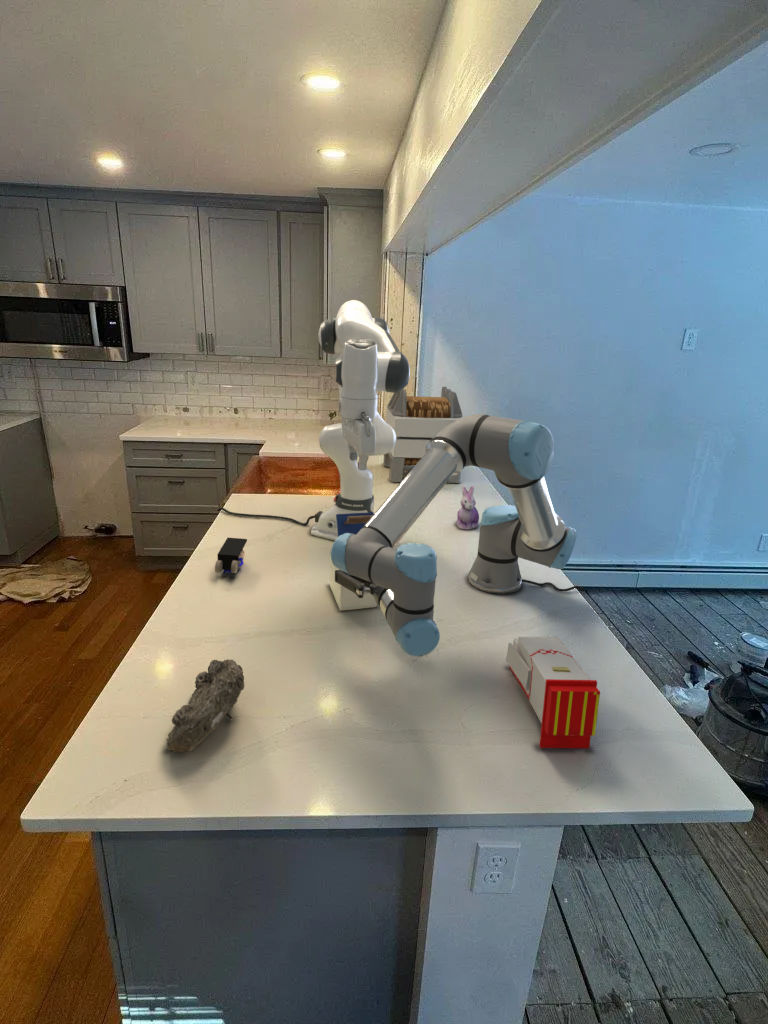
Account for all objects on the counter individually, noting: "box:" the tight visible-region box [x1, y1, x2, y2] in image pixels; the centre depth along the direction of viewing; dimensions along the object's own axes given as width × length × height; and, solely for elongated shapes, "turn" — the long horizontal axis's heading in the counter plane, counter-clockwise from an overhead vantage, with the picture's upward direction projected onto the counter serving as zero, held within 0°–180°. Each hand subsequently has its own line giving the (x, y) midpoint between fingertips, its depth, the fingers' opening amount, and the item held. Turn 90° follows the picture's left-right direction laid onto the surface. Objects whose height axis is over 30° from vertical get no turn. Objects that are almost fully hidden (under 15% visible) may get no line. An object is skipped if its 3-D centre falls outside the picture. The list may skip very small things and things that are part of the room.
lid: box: [336, 511, 375, 537], centre depth 143 cm, size 15×10×8 cm
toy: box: [505, 636, 601, 749], centre depth 115 cm, size 12×13×30 cm
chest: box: [329, 551, 378, 612], centre depth 154 cm, size 14×10×11 cm
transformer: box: [383, 386, 463, 484], centre depth 268 cm, size 34×33×41 cm
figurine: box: [456, 485, 480, 530], centre depth 208 cm, size 9×10×15 cm
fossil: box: [166, 658, 245, 754], centre depth 106 cm, size 22×10×15 cm
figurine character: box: [214, 537, 248, 578], centre depth 166 cm, size 7×8×15 cm
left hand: (357, 464), depth 141 cm, fingers open, 8 cm apart
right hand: (370, 557), depth 134 cm, fingers open, 13 cm apart
